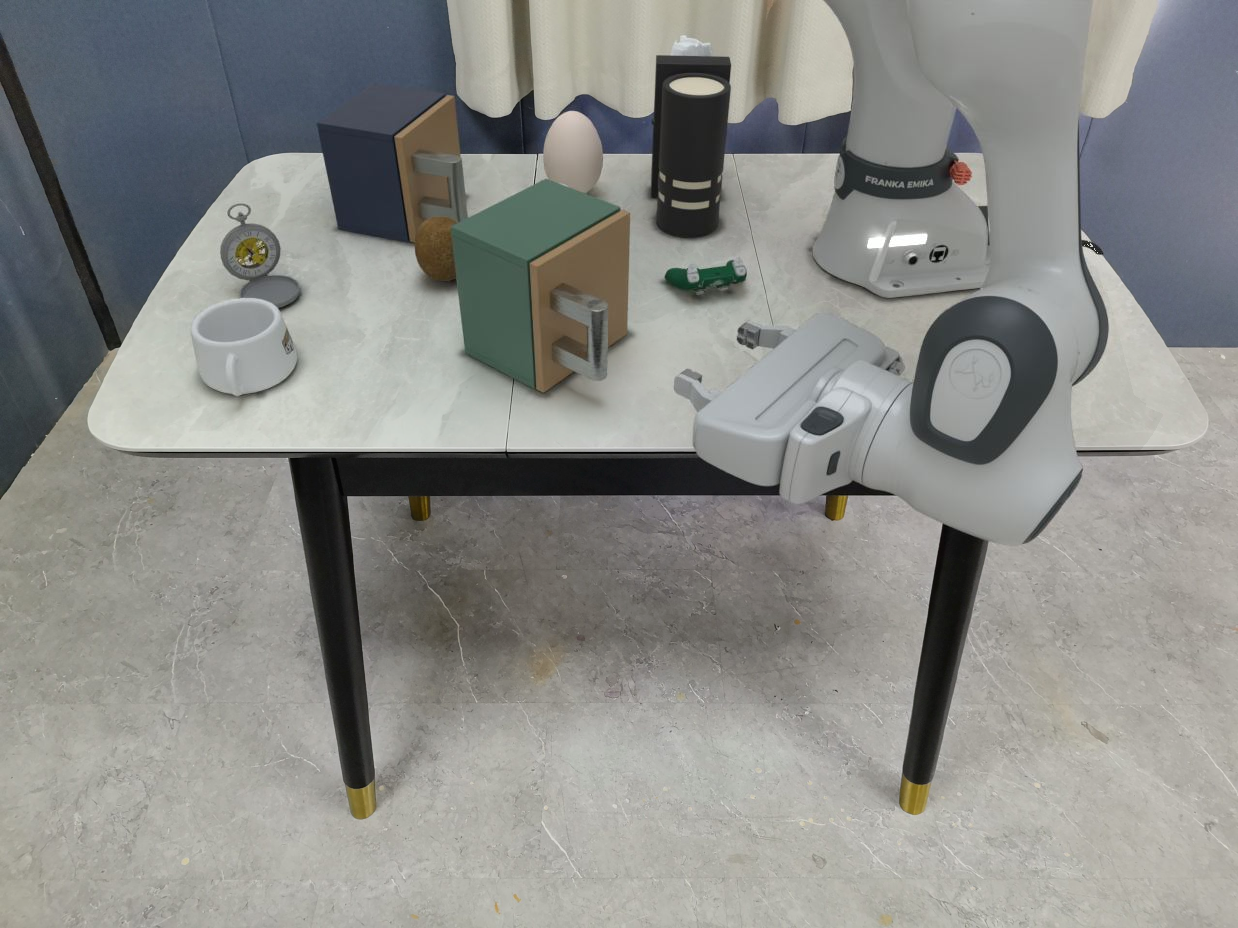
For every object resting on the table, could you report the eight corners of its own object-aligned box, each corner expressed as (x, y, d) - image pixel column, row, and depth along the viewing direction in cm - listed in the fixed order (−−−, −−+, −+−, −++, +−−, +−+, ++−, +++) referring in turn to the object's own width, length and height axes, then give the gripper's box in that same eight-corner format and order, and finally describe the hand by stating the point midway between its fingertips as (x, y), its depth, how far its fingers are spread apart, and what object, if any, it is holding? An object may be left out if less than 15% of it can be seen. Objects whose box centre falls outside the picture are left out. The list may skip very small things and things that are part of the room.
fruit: (469, 293, 108) (462, 230, 102) (415, 293, 107) (405, 230, 102) (474, 266, 112) (468, 204, 107) (423, 265, 112) (414, 204, 107)
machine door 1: (505, 203, 124) (498, 102, 115) (460, 251, 114) (448, 145, 105) (458, 195, 126) (447, 94, 117) (409, 241, 116) (394, 136, 107)
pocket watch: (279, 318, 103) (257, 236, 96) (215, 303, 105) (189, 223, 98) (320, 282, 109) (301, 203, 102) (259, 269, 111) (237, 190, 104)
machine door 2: (671, 354, 99) (679, 231, 89) (588, 417, 91) (587, 289, 81) (620, 330, 102) (622, 209, 92) (536, 389, 94) (529, 263, 84)
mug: (210, 345, 99) (194, 297, 95) (303, 339, 100) (291, 291, 96) (188, 416, 90) (169, 366, 86) (290, 408, 91) (276, 358, 87)
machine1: (456, 195, 126) (445, 93, 117) (408, 242, 116) (391, 135, 107) (391, 184, 128) (375, 83, 119) (338, 229, 118) (316, 122, 109)
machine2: (618, 331, 102) (620, 207, 92) (534, 389, 94) (526, 260, 84) (550, 299, 107) (546, 178, 97) (464, 353, 99) (450, 226, 89)
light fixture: (650, 237, 118) (656, 96, 106) (648, 188, 128) (654, 55, 116) (726, 238, 118) (741, 98, 106) (719, 190, 128) (731, 56, 116)
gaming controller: (667, 303, 110) (681, 291, 104) (661, 272, 110) (675, 258, 104) (739, 293, 112) (757, 280, 106) (734, 262, 112) (751, 248, 106)
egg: (597, 211, 123) (597, 126, 116) (539, 206, 124) (535, 121, 116) (607, 185, 129) (608, 103, 121) (551, 180, 130) (548, 98, 122)
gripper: (922, 329, 77) (779, 274, 83) (797, 454, 65) (640, 378, 71) (905, 390, 81) (770, 333, 87) (784, 517, 69) (638, 440, 75)
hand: (711, 354), depth 79 cm, fingers open, 8 cm apart
